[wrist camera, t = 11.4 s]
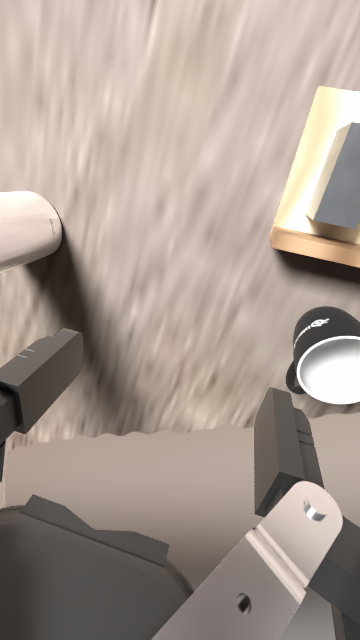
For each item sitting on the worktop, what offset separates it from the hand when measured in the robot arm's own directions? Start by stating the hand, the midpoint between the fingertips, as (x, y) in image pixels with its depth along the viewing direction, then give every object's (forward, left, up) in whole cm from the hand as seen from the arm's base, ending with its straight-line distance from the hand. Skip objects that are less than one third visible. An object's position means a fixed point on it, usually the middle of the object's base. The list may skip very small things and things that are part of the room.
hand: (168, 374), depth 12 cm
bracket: (+12, +9, -27) cm, 31 cm away
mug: (+15, -10, -28) cm, 34 cm away
